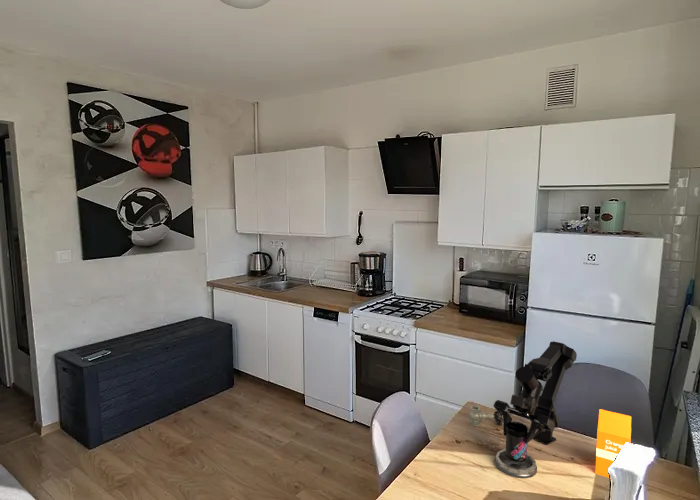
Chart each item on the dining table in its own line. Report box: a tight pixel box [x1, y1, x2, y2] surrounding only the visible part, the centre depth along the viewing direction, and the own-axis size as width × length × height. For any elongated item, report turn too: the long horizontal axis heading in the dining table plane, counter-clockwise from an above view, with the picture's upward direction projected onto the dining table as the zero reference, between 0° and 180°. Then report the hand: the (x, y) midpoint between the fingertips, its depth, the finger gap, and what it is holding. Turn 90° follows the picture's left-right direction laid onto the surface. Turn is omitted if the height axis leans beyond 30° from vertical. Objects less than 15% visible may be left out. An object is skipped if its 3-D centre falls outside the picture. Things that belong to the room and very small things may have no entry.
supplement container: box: [505, 421, 529, 462], centre depth 139 cm, size 7×7×10 cm
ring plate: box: [494, 448, 538, 479], centre depth 139 cm, size 13×13×2 cm
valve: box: [469, 405, 503, 427], centre depth 167 cm, size 7×7×12 cm
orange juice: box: [594, 408, 632, 479], centre depth 135 cm, size 8×9×20 cm
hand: (514, 439), depth 138 cm, fingers closed on supplement container, 7 cm apart
